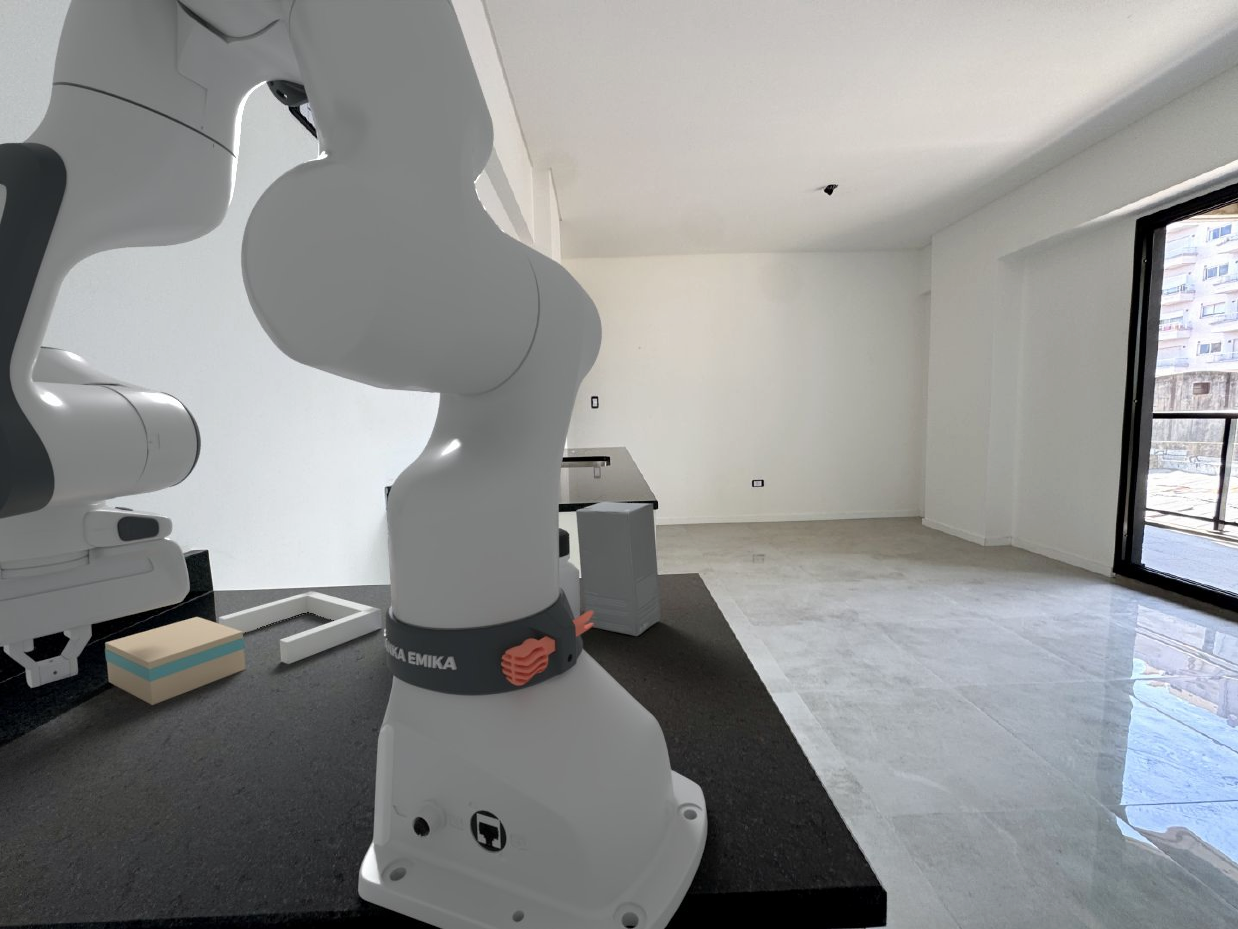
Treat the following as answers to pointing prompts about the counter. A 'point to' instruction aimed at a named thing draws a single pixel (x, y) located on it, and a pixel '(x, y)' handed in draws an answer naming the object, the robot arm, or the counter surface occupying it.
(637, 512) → the skincare box
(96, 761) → the counter surface
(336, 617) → the frame
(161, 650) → the carton
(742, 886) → the counter surface
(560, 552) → the medicine bottle
